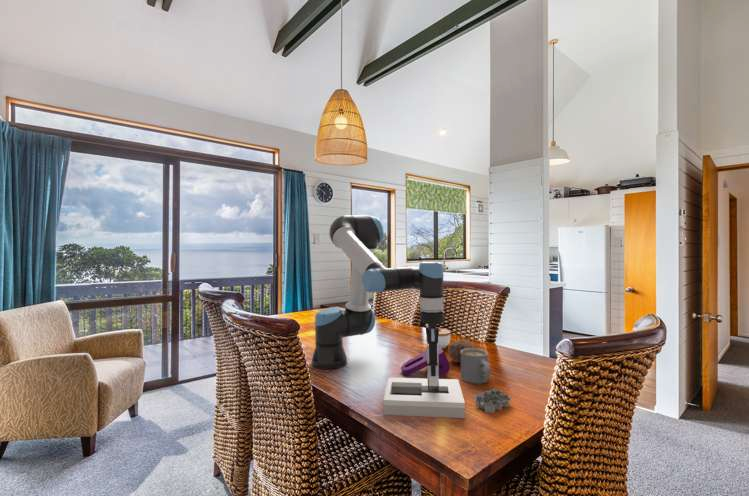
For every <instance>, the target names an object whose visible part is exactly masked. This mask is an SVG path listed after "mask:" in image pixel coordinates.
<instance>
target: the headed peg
mask: <svg viewBox="0 0 749 496" xmlns="http://www.w3.org/2000/svg"><path fill="white" fill-rule="evenodd" d="M426 351H427V363H429V344H428V343H427V345H426ZM437 363H438V365H437V371H438V386H429V366H427V367H426V373H427V375H426V376H427V378H426V379H427V381H428V393H439V379H440V376H439V361H438V345H437Z"/></svg>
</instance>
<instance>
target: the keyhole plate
mask: <svg viewBox="0 0 749 496" xmlns="http://www.w3.org/2000/svg"><path fill="white" fill-rule="evenodd" d="M394 393H395V394H394ZM413 394H415V395H413ZM416 394H418V395H416ZM419 394H421V395H419ZM383 415H384V416H402V417H403V416H405V417H406V416H407V417H426V418H427V417H428V418H430V417H431V418H452V419H453V418H456V419H458V418H459V419H466V402H465V399H464V395H463V391H462V388H461V385H460V381H459V379H457V378H456V379H455V378H454V379H452V378H451V379H450V378H439V393H428V381H427V378H419V377H388V380H387V383H386V388H385V391H384V396H383Z"/></svg>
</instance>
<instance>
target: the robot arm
mask: <svg viewBox="0 0 749 496" xmlns="http://www.w3.org/2000/svg"><path fill="white" fill-rule="evenodd" d="M328 231H329V238H330V240H331V242H332V244H333V245H334V246H335V247H336V248H338V249H341V251H342V252H343V253H344V254H345V256H346V257H347V258H348V259H349V260H350V262H351V263H352V264H351V275H350V286H349V287H350V289H349V298H348V299H349V300H348V302H346V303H345V304H344V305H345V308H344V309H343V310H342V308H341V307H328V308H325V309H321V310H319V311H317V312H316V313H315V317H314V329H315V330H314V331H315V348H314V350H313V353H312V357H311V366H312V367H314V368H316V369H320V370H332V369H339V368H341V367H344V366H346V364H347V363H348V359H347V358H348V357H347V354H346V351H345V349H344V345H343V338H348V337H354V336H359V335H360V336H362V335H365V334H369V333H370V332H372V331H373V329H374V328H375V325H376V324H375V323H376V315H375V314H376V313H375V311H374V309H373V308H372V305H371V304H370V303H369V298H370V293H377V294H378V293H383V292H390V291H402V290H403V291H404V290H417V291H419V310H420V311H419V316H420V317H419V321H420V323H422V324H424V325H427V326H425V334H426V342H427V345H428V344H429V363H427V366H429V386H438V371H437V365H438V363H437V343H438V334H439V327H437V325H440V324H441V325H442V324H443V323H444V322H445V312H444V309H445V307H444V303H446V299H444V276H445V274H444V268H443V267H444V266H443V263H441V262H440V261H422V262H420V263H419V265H418V267H417V266H413V265H409V266H408V265H407V266H401V267H385V265H384V264H382V263H381V261H380V260H378V258H377V257H376V256H375V255H374V254H373V253H374V251H375V250H377V248H378V244H380V243H381V242H383V239H384V236H385V235H384V233H385V232H384V231H385V230H384V226H383V223H382V221H381V219H379V217H377V216H372V215H349V214H348V215H347V214H345V215H342V216H339V217H337V218H336V219H334V220H333V222H332V224H331V225H330V227H329V230H328Z"/></svg>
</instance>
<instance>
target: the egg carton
mask: <svg viewBox="0 0 749 496" xmlns="http://www.w3.org/2000/svg"><path fill="white" fill-rule="evenodd" d="M511 399H512V396H508V394H507V393H504V392H502V391H501V390H499V389H497V388H495V387H494V388H493V389H490V390H485V391H484V392H480V393H475V394H474V396H473V400H475V407H476V408H477V409H484V412H485V413H492V414H495V413H496V410H498V411H502V409H503V407H504V408H509V407H510V401H511Z"/></svg>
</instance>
